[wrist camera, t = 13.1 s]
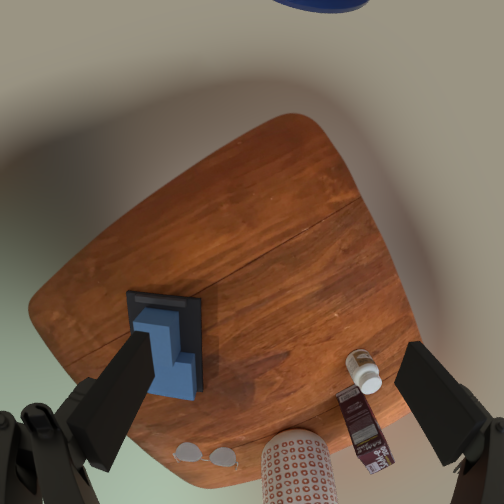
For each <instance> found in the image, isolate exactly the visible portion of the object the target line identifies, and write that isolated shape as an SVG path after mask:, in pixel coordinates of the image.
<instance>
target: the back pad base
mask: <svg viewBox="0 0 504 504" xmlns="http://www.w3.org/2000/svg"><path fill="white" fill-rule="evenodd" d="M126 296H127V306H128V315H129V323H130V331H131V335H132V334H133V332H134V327H133V321H134V320H135V318H136V317H137V316H138V315H139V314H140V313H141V312H142V310H143V309H144V308H145V307H146V308H154V309H162V310H170V311H178V312H179V330H180V347H181V350H180V353H179V355H178V357H177V359H176V361H175V364H174V366H173V368H172V367H166V366H160V365H154V364H153V365H154V372H155V378H154V380H153V382H152V384H151V386H150V388H149V390H148V392H147V393H151V394H156V395H162V396H167V397H173V398H179V399H186V400H193V401H194V398H195V395H196V392H203V369H202V333H201V298H193V297H182V296H172V295H163V294H154V293H145V292H137V291H129V290H128V291H127V292H126Z"/></svg>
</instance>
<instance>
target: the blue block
mask: <svg viewBox="0 0 504 504" xmlns="http://www.w3.org/2000/svg"><path fill="white" fill-rule="evenodd" d="M133 327H134V331H135V330H136V331H143V332H149V333H150V342H151V350H152V358H153V364H154V365H160V366H166V367H172V368H173V366H174V364H175V361H176V359H177V357H178V355H179V353H180V350H181V347H180V330H179V312H178V311H170V310H162V309H154V308H146V307H145V308H144V309H143V310H142V312H141V313H140V314H139V315H138V316H137V317H136V318H135V320H134V321H133Z"/></svg>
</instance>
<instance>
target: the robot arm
mask: <svg viewBox="0 0 504 504" xmlns="http://www.w3.org/2000/svg"><path fill="white" fill-rule="evenodd" d="M154 378H155V372H154V365H153V358H152V350H151V342H150V333H149V332H143V331H136V330H135V331H134V332H133V334H132V335H131V336H130V337H129V339H128V340H127V341H126V343H125V344H124V345H123V346H122V348H121V349H120V350H119V351H118V353H117V354H116V355H115V356H114V358H113V359H112V360H111V362H110V363H109V364H108V366H107V367H106V368H105V369H104V371H103V372H102V373H101V375H100V376H99V377H98V379H97V380H96V379H93V378H90V377H88V378H86V379H85V380H83V381H81V382H80V383H79V384H78V385H77V386H76V387H75V389H74V390H73V392H71V394H70V395H69V397H68V398H67V399H66V400H65V401H64V402H63V404H62V405H61V406H60V408H59V409H58V410H57V412H56V413H55V414H53V412H52V410H51V408H50V407H49V406H47V405H46V404H43V403H33V404H29V405H28V406H26V407H25V408H24V409H23V410H22V412H21V419H22V421H23V423H24V424H23V423H19V422H17V421H16V420H15V418H14V416H13V415H12V414H11V413H9V412H6V411H0V504H43V501H44V504H100V503H99V501H98V499H97V497H96V495H95V492H94V490H93V487H92V485H91V482H90V480H89V477H88V475H87V472H86V469H85V467H84V466H83V464H84V462H85V460H86V459H87V460H88V462H89V463H90V465H91V466H92V467H95V468H97V469H100V470H103V471H105V472H109V471H110V468H111V466H112V464H113V462H114V460H115V458H116V456H117V454H118V452H119V449H120V447H121V445H122V443H123V441H124V439H125V437H126V435H127V433H128V431H129V428H130V426H131V424H132V422H133V420H134V418H135V416H136V414H137V412H138V410H139V408H140V406H141V404H142V402H143V400H144V398H145V396H146V394H147V392H148V390H149V388H150V386H151V384H152V382H153V380H154ZM394 384H395V385H396V387H397V388H398V390H399V392H400V393H401V395H402V396H403V398H404V400H405V401H406V403H407V405H408V406H409V408H410V409H411V411H412V413H413V414H414V416H415V418H416V420H417V421H418V423H419V424H420V426H421V428H422V430H423V431H424V433H425V435H426V437H427V438H428V440H429V442H430V443H431V445H432V447H433V449H434V451H435V452H436V454H437V456H438V458H439V460H440V461H441V463H442V465H443V466H446V465H449V464H450V463H453V462H456V460H457V459H458V458H459V457H460V456H461V454H462V453H463V454H464V455H465V458H464V459H463V460H462V461H461V462H460V463H459V465H458V466H457V467H456V468H455V469H454V471H453V473H455V472H456V471H457V470H458V469H459V468H460V471H459V472H458V474H459V476H458V479H457V483H456V487H455V490H454V494H453V497H452V500H451V503H450V504H504V418H501V417H497V418H493V417H492V416H491V415H490V414H489V412H488V411H487V410H486V409H485V408H484V406H483V405H482V404H481V403H480V402H479V401H478V399H477V398H476V397H475V396H474V395H473V394H472V392H471V391H470V390H469V389H468V388H466V387H465V386H463V385H462V384H459V383H458V382H457V381H456V380H455V379H454V378H453V377H452V375H450V374H449V372H448V371H447V370H446V369H445V368H444V367H443V366H442V364H441V363H440V362H439V361H438V360H437V359H436V358H435V357H434V356H433V355H432V353H431V352H430V351H429V350H428V349H427V348H426V347H425V346H424V345H423V344H422V343H421V342H420V341H415V342H409V343H408V346H407V349H406V352H405V355H404V358H403V361H402V363H401V366H400V369H399V371H398V374H397V377H396V379H395V382H394ZM42 497H43V500H42Z"/></svg>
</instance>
